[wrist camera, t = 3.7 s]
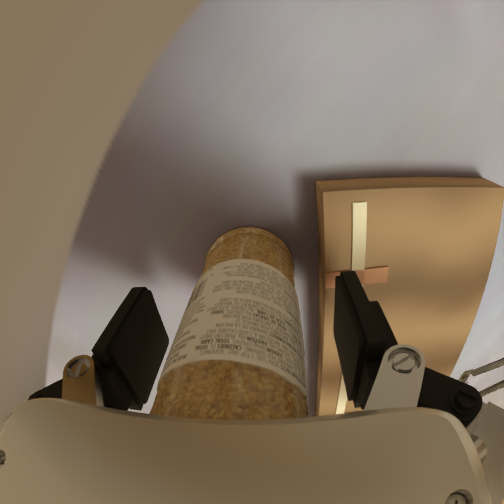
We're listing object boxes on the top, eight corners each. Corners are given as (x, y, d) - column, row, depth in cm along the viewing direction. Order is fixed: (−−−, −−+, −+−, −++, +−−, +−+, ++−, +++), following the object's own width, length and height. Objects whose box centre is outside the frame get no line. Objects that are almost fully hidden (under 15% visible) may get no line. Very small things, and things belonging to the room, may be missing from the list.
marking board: (314, 181, 13) (323, 192, 11) (483, 177, 12) (505, 188, 10) (313, 431, 22) (315, 450, 20) (413, 413, 21) (419, 430, 19)
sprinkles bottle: (256, 314, 16) (234, 570, 4) (189, 268, 15) (83, 535, 3) (313, 260, 15) (367, 566, 3) (242, 203, 13) (149, 573, 1)
